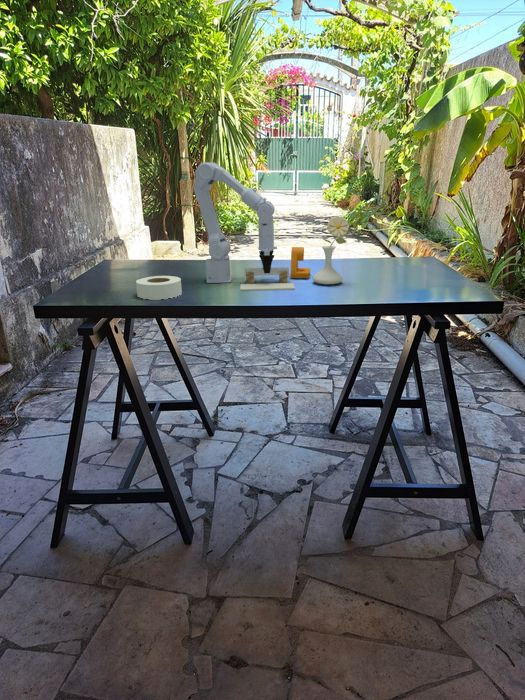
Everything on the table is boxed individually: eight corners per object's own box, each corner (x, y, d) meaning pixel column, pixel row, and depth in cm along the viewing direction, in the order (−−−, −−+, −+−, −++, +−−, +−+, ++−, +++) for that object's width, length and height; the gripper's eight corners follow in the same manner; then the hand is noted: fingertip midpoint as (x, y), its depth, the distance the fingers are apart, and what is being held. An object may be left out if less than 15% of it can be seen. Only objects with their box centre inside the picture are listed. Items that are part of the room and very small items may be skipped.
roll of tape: (141, 290, 178) (139, 275, 176) (183, 289, 179) (182, 274, 177) (133, 301, 163) (131, 285, 161) (179, 299, 164) (178, 283, 162)
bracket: (308, 279, 189) (309, 249, 185) (290, 279, 191) (290, 249, 186) (310, 274, 199) (310, 245, 195) (292, 274, 200) (293, 245, 196)
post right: (279, 283, 184) (279, 272, 183) (279, 280, 189) (279, 270, 187) (287, 283, 184) (287, 272, 183) (286, 280, 189) (286, 269, 187)
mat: (240, 290, 174) (240, 289, 174) (240, 285, 182) (240, 284, 181) (295, 289, 174) (295, 288, 174) (293, 284, 182) (293, 283, 182)
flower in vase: (309, 285, 180) (310, 217, 171) (316, 279, 190) (318, 214, 181) (343, 287, 176) (346, 217, 167) (349, 281, 186) (352, 214, 177)
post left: (246, 284, 184) (245, 273, 183) (246, 281, 189) (246, 270, 187) (253, 283, 184) (253, 273, 183) (254, 281, 189) (253, 270, 187)
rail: (244, 275, 184) (244, 269, 183) (244, 274, 186) (244, 268, 186) (288, 274, 184) (288, 268, 183) (288, 273, 187) (288, 267, 186)
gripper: (277, 237, 173) (278, 274, 178) (276, 232, 187) (276, 267, 192) (258, 238, 173) (259, 275, 178) (257, 233, 187) (258, 267, 192)
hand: (266, 271), depth 185 cm, fingers open, 7 cm apart
